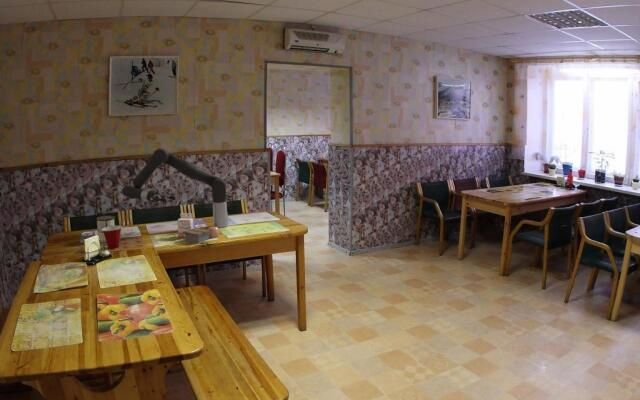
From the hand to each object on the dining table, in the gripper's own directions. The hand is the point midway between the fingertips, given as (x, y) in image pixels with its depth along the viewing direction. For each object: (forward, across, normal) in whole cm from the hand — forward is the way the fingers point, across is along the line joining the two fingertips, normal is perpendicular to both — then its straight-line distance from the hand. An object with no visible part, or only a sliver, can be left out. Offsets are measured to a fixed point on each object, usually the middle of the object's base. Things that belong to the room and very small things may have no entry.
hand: (170, 199), depth 293 cm
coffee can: (-28, -23, +26) cm, 45 cm away
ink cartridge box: (+12, 0, +23) cm, 26 cm away
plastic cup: (-12, -35, +25) cm, 45 cm away
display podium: (+24, -4, +22) cm, 32 cm away
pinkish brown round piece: (+28, +7, +21) cm, 36 cm away
